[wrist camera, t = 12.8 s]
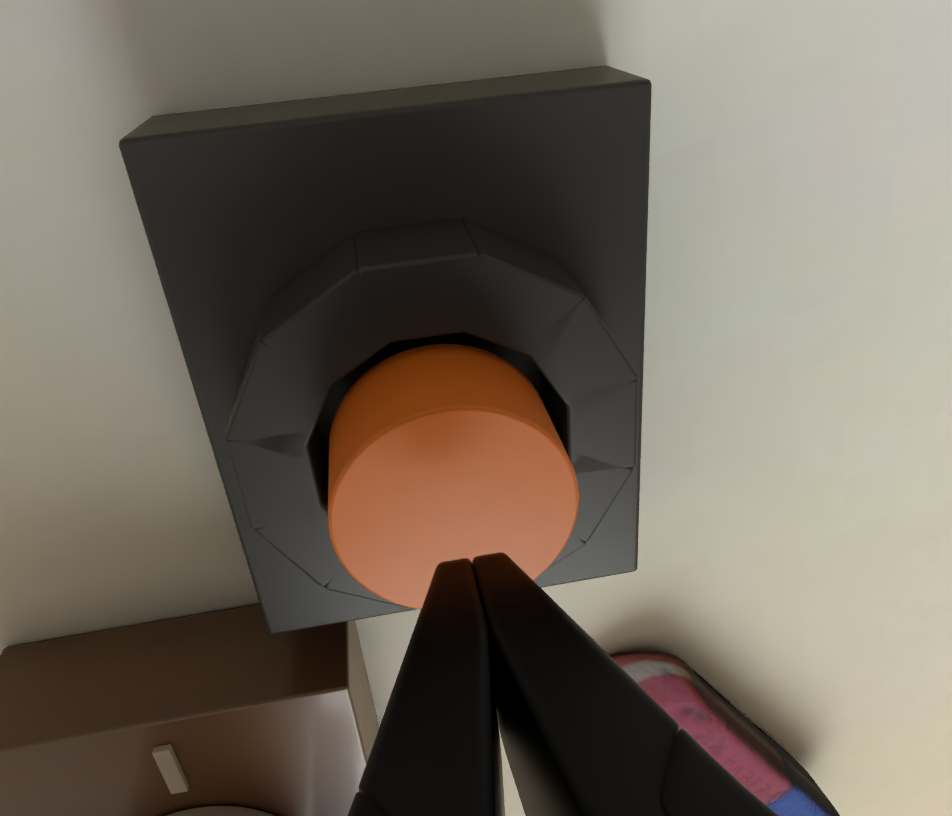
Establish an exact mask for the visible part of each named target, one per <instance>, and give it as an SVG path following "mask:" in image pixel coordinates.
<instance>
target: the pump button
mask: <svg viewBox="0 0 952 816" xmlns="http://www.w3.org/2000/svg"><path fill="white" fill-rule="evenodd" d="M578 504H579V490H578V481H577V477H576V474H575V470H574V467H573V465H572V463H571V461H570V459H569V456H568V454H567V452H566V450H565V448H564V446H563V444H562V442H561V440H560V438H559V436H558V433H557V431H556V429H555V427H554V425H553V423H552V421H551V419H550V417H549V415H548V412H547V410H546V408H545V406H544V404H543V402H542V400H541V398H540V396H539V394H538V392H537V390H536V389H535V387H534V386H533V384H532V383H531V381H530V380H529V379H528V378H527V377H526V376H525V375H524V374H523V373H522V372H521V371H520V370H519V369H518V368H516V367H515V366H514V365H513V364H511V363H510V362H508V361H507V360H505V359H503V358H502V357H500V356H498V355H496V354H493V353H491V352H489V351H486V350H483V349H479V348H476V347H472V346H465V345H459V344H434V345H425V346H421V347H416V348H412V349H409V350H406V351H403V352H400V353H397V354H395V355H393V356H391V357H389V358H387V359H385V360H383V361H381V362H380V363H378V364H377V365H375V366H373V367H372V368H371V369H369V370H368V371H367V372H366V373H365V374H363V375H362V376H361V377H360V378H359V379H358V380H357V381H356V382H355V383H354V384H353V385H352V386H351V387H350V389H349V390H348V392H347V393H346V394H345V396H344V397H343V399H342V400H341V402H340V404H339V406H338V408H337V410H336V413H335V416H334V418H333V421H332V425H331V430H330V436H329V478H328V529H329V536H330V539H331V542H332V545H333V549H334V550H335V552H336V554H337V556H338V558H339V560H340V562H341V563H342V564H343V566H344V567H345V569H346V570H347V571H348V573H349V574H350V575H351V576H352V577H353V578H354V579H355V580H356V581H357V582H358V583H360V584H361V585H362V586H363V587H365V588H366V589H367V590H369V591H370V592H372V593H374V594H376V595H377V596H379V597H381V598H383V599H385V600H388V601H390V602H393V603H395V604H399V605H402V606H405V607H409V608H415V609H422V606H423V603H424V600H425V598H426V595H427V592H428V589H429V586H430V583H431V581H432V578H433V575H434V572H435V569H436V567H437V565H438V564H439V563H441V562H445V561H451V560H457V559H462V558H468V559H469V560H470V561H471V562H472V560H473V558H474V557H476V556H480V555H486V554H492V553H498V552H502V553H505V554H506V555H508V556H509V557H510V558H511V559H512V560H513V561H514V562H515V563H516V564H517V565H518V566H519V567H520V568H521V569H522V570H523V571H524V572H525V573H526V574H527V575H528V576H529V577H530V578H531V579H532V580H535V579H536V578H537V577H538V576H539V575H540V574H542V573H543V572H544V571H545V570H546V569H547V568H548V567H549V566H550V565H551V564H552V563H553V561H554V560H555V559H556V558H557V557H558V555H559V554H560V552H561V551H562V550H563V548H564V546H565V545H566V543H567V541H568V539H569V537H570V535H571V533H572V530H573V527H574V524H575V521H576V516H577V512H578Z"/></svg>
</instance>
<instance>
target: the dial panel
mask: <svg viewBox="0 0 952 816" xmlns="http://www.w3.org/2000/svg"><path fill="white" fill-rule="evenodd" d="M378 730H379V726H378V722H377V717H376V713H375V708H374V704H373V699H372V695H371V691H370V686H369V682H368V677H367V673H366V669H365V664H364V660H363V655H362V651H361V646H360V642H359V638H358V633H357V629H356V624H355V620H352V621H346V622H340V623H335V624H329V625H323V626H317V627H312V628H306V629H300V630H295V631H289V632H283V633H277V634H270V633H269V631H268V628H267V625H266V622H265V619H264V615H263V612H262V609H261V606H260V604H258V605H252V606H246V607H240V608H235V609H229V610H223V611H217V612H211V613H205V614H199V615H194V616H188V617H182V618H176V619H170V620H164V621H158V622H153V623H147V624H141V625H135V626H129V627H123V628H117V629H112V630H106V631H100V632H94V633H88V634H82V635H76V636H71V637H65V638H59V639H53V640H47V641H41V642H35V643H30V644H24V645H18V646H12V647H7V648H5V649H3V651H2V653H1V655H0V816H166V815H169V814H172V813H175V812H178V811H183V810H187V809H192V808H199V807H208V806H235V807H245V808H251V809H256V810H259V811H263V812H267V813H269V814H272V815H275V816H348V814H349V811H350V808H351V805H352V802H353V800H354V797H355V794H356V793H357V792H359V784H360V781H361V778H362V775H363V772H364V770H365V767H366V764H367V761H368V758H369V755H370V753H371V750H372V747H373V744H374V741H375V739H376V736H377V733H378Z"/></svg>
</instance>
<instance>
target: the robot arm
mask: <svg viewBox="0 0 952 816" xmlns="http://www.w3.org/2000/svg"><path fill="white" fill-rule="evenodd" d="M498 725H499V727H498ZM499 729H500V734H501V738H502V741H503V745H504V748H505V752H506V755H507V758H508V762H509V765H510V768H511V771H512V774H513V777H514V780H515V784H516V787H517V790H518V793H519V796H520V799H521V802H522V805H523V809H524V812H525V815H526V816H779V815H778V814H777V813H775V812H774V811H773V810H772V809H771V808H769V807H768V806H767V805H766V804H765V803H763V802H762V801H761V800H760V799H759V798H757V797H756V796H755V795H754V794H753V793H751V792H750V791H749V790H748V789H747V788H746V787H744V786H743V785H742V784H741V783H740V782H739V781H738V780H737V779H736V778H735V777H734V776H733V775H732V774H730V773H729V772H728V771H727V770H726V769H725V768H724V767H723V766H722V765H721V764H720V763H719V762H718V761H716V760H715V759H714V758H713V757H712V756H711V755H710V754H709V753H708V752H707V751H706V750H705V749H704V748H703V747H702V746H701V745H700V744H699V743H698V742H697V741H696V740H695V739H694V738H693V737H692V736H691V735H690V734H689V733H688V732H687V731H686V730H684V729H680V730H679V724H678V723H677V722H676V721H675V720H674V719H673V718H672V717H671V716H670V715H669V714H668V713H667V712H666V711H665V710H664V709H663V708H662V707H661V706H660V705H659V704H658V703H657V702H656V701H655V700H654V699H653V698H652V697H651V696H650V695H649V694H648V693H647V692H646V691H645V690H644V689H643V688H642V687H641V686H640V685H639V684H638V683H637V682H636V681H635V680H634V679H633V678H632V677H631V676H630V675H629V674H628V673H626V672H625V671H624V670H623V669H622V668H621V667H620V666H619V665H618V664H617V663H616V662H615V661H614V660H613V659H612V658H611V657H610V656H609V655H608V654H607V653H606V652H605V651H604V650H603V649H602V648H601V647H600V646H599V645H598V644H597V643H596V642H595V641H594V640H593V639H592V638H591V637H590V636H589V635H588V634H587V633H586V632H585V631H584V630H583V629H582V628H581V627H580V626H579V625H578V624H577V623H576V622H575V621H574V620H573V619H572V618H571V617H570V616H569V615H568V614H567V613H566V612H565V611H564V610H563V609H562V608H561V607H559V606H558V605H557V604H556V603H555V602H554V601H553V600H552V599H551V598H550V597H549V596H548V595H547V594H546V593H545V592H544V591H543V590H542V589H541V588H540V587H539V586H538V585H537V584H536V583H535V582H534V581H533V580H532V579H531V578H530V577H529V576H528V575H527V574H526V573H525V572H524V571H523V570H522V569H521V568H520V567H519V566H518V565H517V564H516V563H515V562H514V561H513V560H512V559H511V558H510V557H509V556H508V555H506V554H505V553H502V552H498V553H492V554H486V555H480V556H476V557H474V558H473V560H472V562H471V561H470V560H469V559H468V558H462V559H457V560H451V561H445V562H441V563H439V564H438V565H437V567H436V569H435V572H434V575H433V578H432V581H431V583H430V586H429V589H428V592H427V595H426V598H425V600H424V603H423V606H422V609H421V612H420V614H419V617H418V620H417V623H416V626H415V629H414V631H413V634H412V637H411V640H410V643H409V645H408V648H407V651H406V654H405V657H404V660H403V662H402V665H401V668H400V671H399V674H398V677H397V679H396V682H395V685H394V688H393V691H392V693H391V696H390V699H389V702H388V705H387V708H386V710H385V713H384V716H383V719H382V722H381V724H380V727H379V730H378V733H377V736H376V739H375V741H374V744H373V747H372V750H371V753H370V755H369V758H368V761H367V764H366V767H365V770H364V772H363V775H362V778H361V781H360V784H359V792H357V793H356V794H355V797H354V800H353V802H352V805H351V808H350V811H349V814H348V816H505V806H504V791H503V775H502V759H501V748H500V737H499Z"/></svg>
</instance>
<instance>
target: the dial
mask: <svg viewBox="0 0 952 816" xmlns="http://www.w3.org/2000/svg"><path fill="white" fill-rule="evenodd" d="M166 816H275V815H272V814H269V813H267V812H263V811H259V810H256V809H251V808H245V807H235V806H208V807H199V808H192V809H187V810H183V811H178V812H175V813H172V814H169V815H166Z"/></svg>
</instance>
